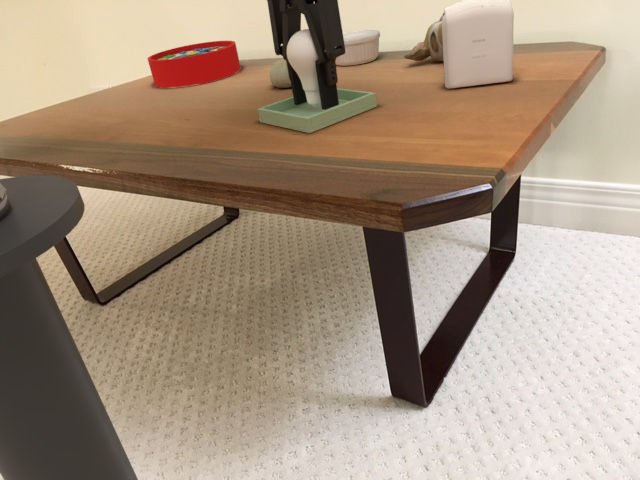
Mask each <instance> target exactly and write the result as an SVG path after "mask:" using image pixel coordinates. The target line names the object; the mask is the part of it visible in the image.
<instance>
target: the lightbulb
mask: <svg viewBox="0 0 640 480" xmlns="http://www.w3.org/2000/svg"><path fill="white" fill-rule="evenodd" d="M325 52H326V50H325ZM287 58H288V61H289V63H290V64H291V66H292V67H293V69H294V70H295V71H296V73H297V74H298V76H299V78H300V80H301V83H302V87H303V90H304V91H305V94H306V98H307V103H308V104H310V105H312V106H313V107H317V106H319V105H320V103H321V100H320V93H319V86H318V79H317V72H316V66H315V61H316V60H318V56H317V53H316V50H315V46H314V43H313V40H312V37H311V34H310V31H309V28H304V29H301V30H300V31H298V32H297V33H295V34H294V35H293V36H292V37H291V38H290V40H289V42H288V45H287Z"/></svg>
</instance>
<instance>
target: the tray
mask: <svg viewBox="0 0 640 480" xmlns="http://www.w3.org/2000/svg"><path fill="white" fill-rule="evenodd" d="M337 93H338V101H339V105H337V106H334V107H331V108H329V109H326V110H323V109H322V107H321V103H320V105H319V106H317V107H313V106H312V105H310V104H308V103H307V102H305V103H302V104H300V105H295V104H294V98H293V96H290V97H288V98H285V99H281V100H279V101H276V102H273V103H269V104H267V105H264V106H260V107H259V108H257V114H258V119H259V122H260V123H261V124H267V125H272V126H275V127H281V128H284V129H289V130H294V131H298V132H303V133H306V134H312V133H314V132H317V131H319V130H322V129H325V128H327V127H329V126H332V125H334V124H337V123H339V122H342V121H344V120H347V119H349V118H351V117H354V116H357V115H359V114H362V113H365V112H367V111H370V110H372V109H374V108H377V106H378V105H377V95H376V92H371V91H363V90H362V91H361V90H354V89H348V88H347V89H346V88H338V87H337Z"/></svg>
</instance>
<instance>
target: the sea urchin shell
mask: <svg viewBox="0 0 640 480" xmlns="http://www.w3.org/2000/svg"><path fill="white" fill-rule="evenodd" d="M269 80H270V83H271V84H272V85H273V86H275V87H276V88H280V89H285V88H287V89H288V88H292V86H291V81H290V79H289V75H288V69H287V63H286V60H284V58H283V57H282V58H279V59H278V60H276V61H275V62H274V63H273V64H272V66H271V67H270V69H269Z"/></svg>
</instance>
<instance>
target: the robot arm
mask: <svg viewBox="0 0 640 480" xmlns="http://www.w3.org/2000/svg"><path fill="white" fill-rule="evenodd" d="M266 2H267V8H268V14H269V22H270V28H271V29H270V30H271V36H272V42H273V43H272V44H273V48H274V53H275V55H276V56H281V57H282V58H284V60H286V63H287V69H288V75H289V79H290V81H291V86H292V87H291V93H292V97H293V98H294V104H295V105H300V104H302V103H305V102H307V98H306V94H305V91H304V90H303V87H302V83H301V80H300V78H299V76H298V74H297V73H296V71H295V70H294V69H293V67H292V66H291V64H290V63H289V61H288V58H287V45H288V42H289V40H290V38H291V37H292V36H293V35H294V34H295V33H297V32H298V31H300V30H302V29H301V28H302V15H303V16H304V19H305V22H306V25H307V27H308V28H307V29H309V31H310V34H311V37H312V40H313V43H314V46H315V50H316V53H317V56H318V60H316V61H315V66H316V72H317V79H318V86H319V93H320V100H321V107H322V109H323V110H326V109H329V108H331V107H334V106H337V105H339V101H338V93H337V88H338V87H337V86H338V85H337V84H338V81H339V80H338V73H337V65H336V63H335V61H336V58H337V57H339V56H341V55H344V54H345V45H344V39H343V34H344V33H343V25H342V19H341V14H340V7H339V1H338V0H266ZM325 50H326V52H325ZM5 191H6V189H5V188H4V186H3V185H2V184H1V183H0V221H1V220H3V219H4V218H5V217H6V216H7V215H8V214H9V212H10V211H11V203H10V201H9V199H8V197H7V195H6V193H5Z"/></svg>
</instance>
